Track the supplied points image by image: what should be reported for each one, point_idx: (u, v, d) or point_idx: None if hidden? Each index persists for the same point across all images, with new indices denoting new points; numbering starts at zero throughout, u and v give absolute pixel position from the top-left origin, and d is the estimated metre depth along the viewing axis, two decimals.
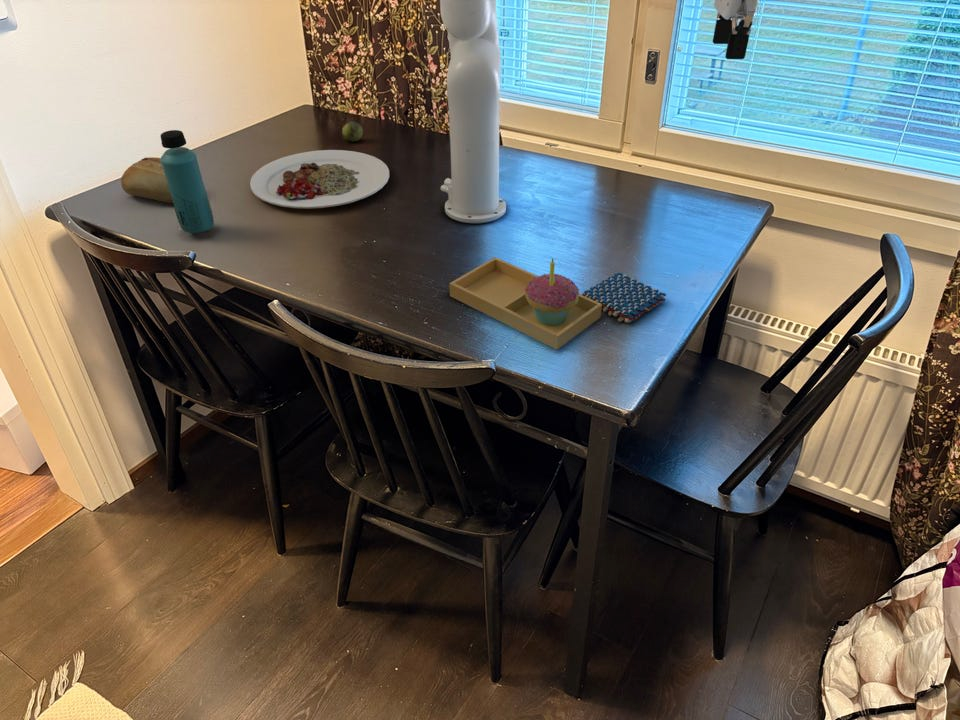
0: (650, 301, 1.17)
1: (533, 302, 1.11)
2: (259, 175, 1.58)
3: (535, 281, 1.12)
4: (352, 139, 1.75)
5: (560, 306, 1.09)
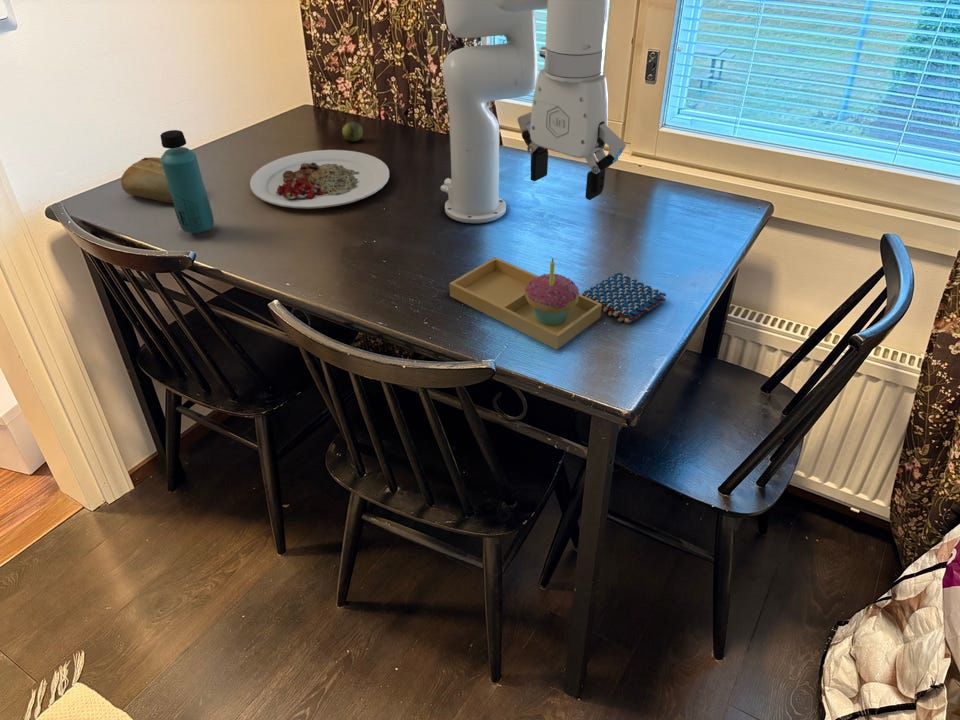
0: (650, 301, 1.17)
1: (533, 302, 1.11)
2: (259, 175, 1.58)
3: (535, 281, 1.12)
4: (352, 139, 1.75)
5: (560, 306, 1.09)
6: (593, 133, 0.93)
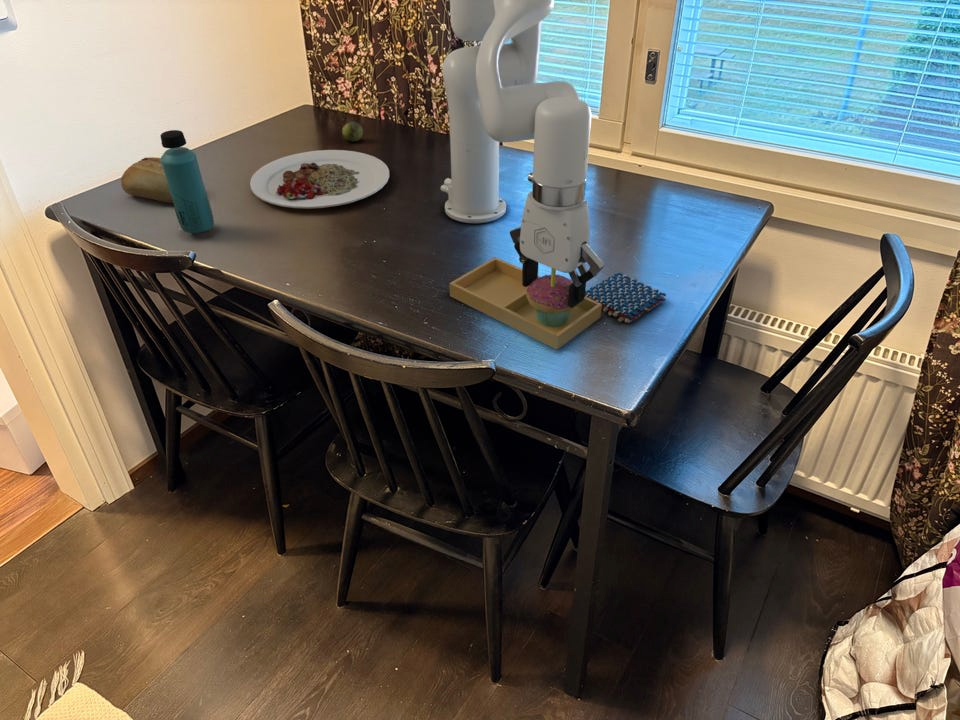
0: (650, 301, 1.17)
1: (534, 303, 1.10)
2: (259, 175, 1.58)
3: (536, 282, 1.12)
4: (352, 139, 1.75)
5: (561, 307, 1.09)
6: (576, 252, 1.03)
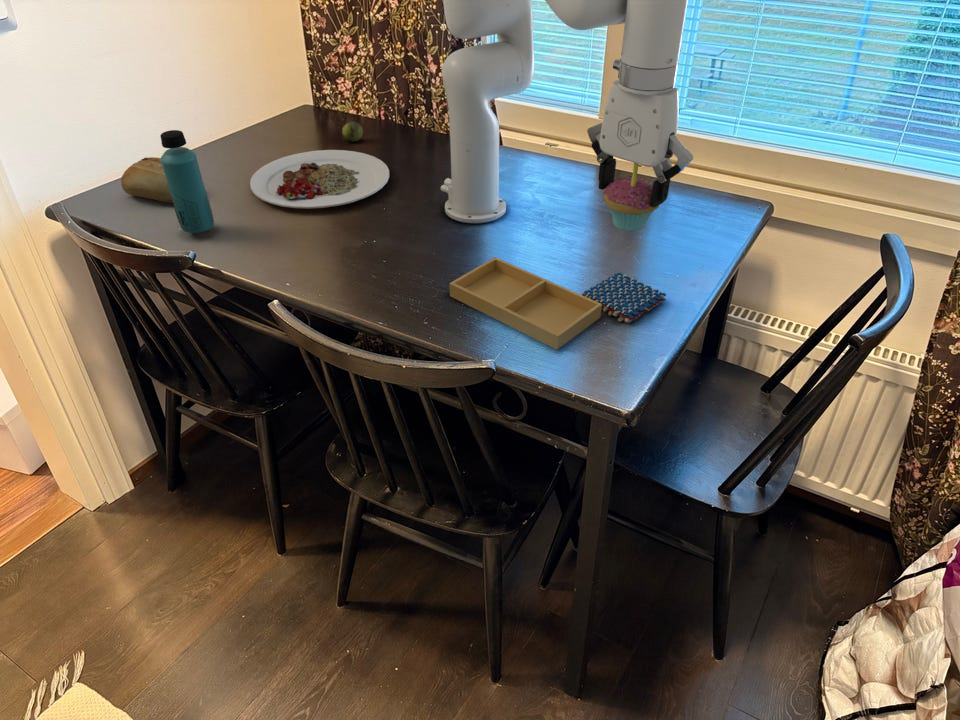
0: (650, 301, 1.17)
1: (614, 203, 1.05)
2: (259, 175, 1.58)
3: (615, 183, 1.06)
4: (352, 139, 1.75)
5: (643, 207, 1.04)
6: (664, 143, 0.97)
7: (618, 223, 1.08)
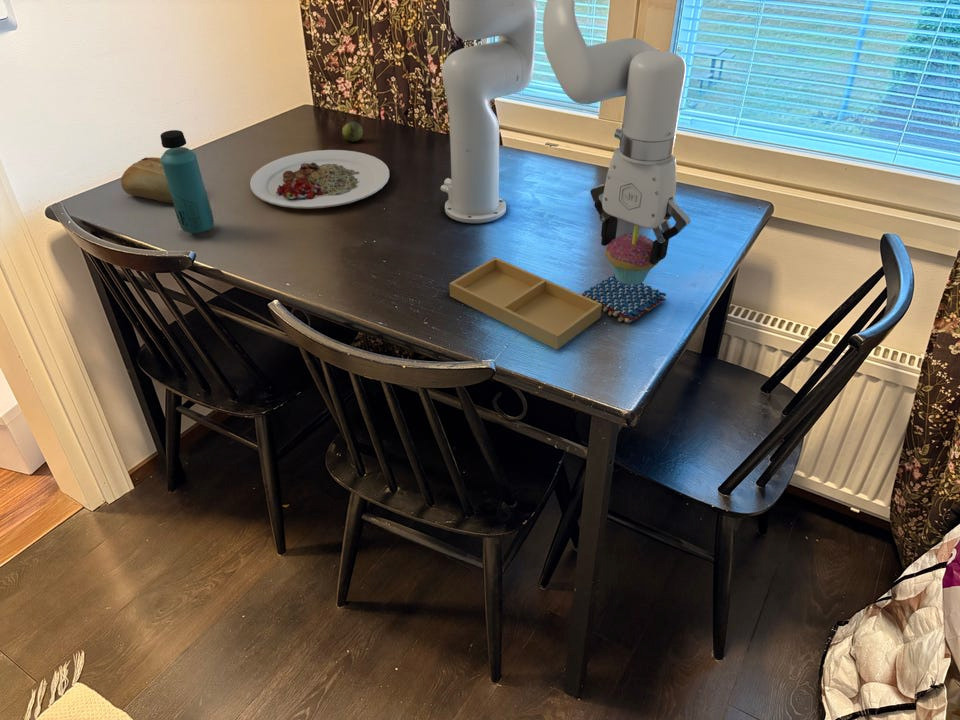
0: (650, 301, 1.17)
1: (616, 260, 1.11)
2: (259, 175, 1.58)
3: (617, 240, 1.13)
4: (352, 139, 1.75)
5: (643, 264, 1.10)
6: (663, 208, 1.04)
7: (620, 277, 1.14)
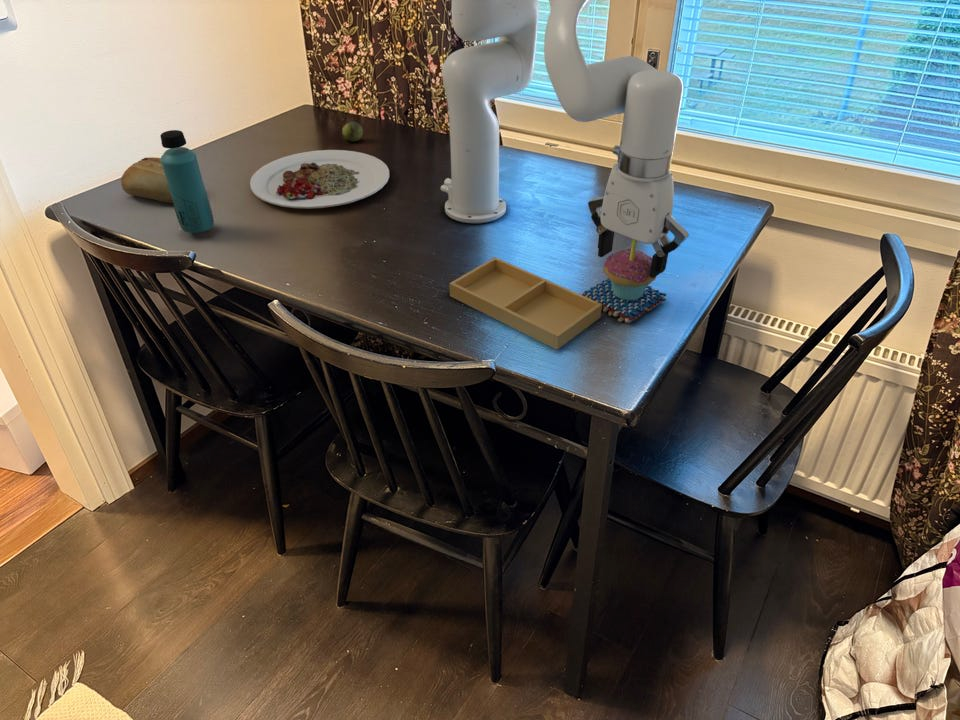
0: (650, 301, 1.17)
1: (614, 276, 1.13)
2: (259, 175, 1.58)
3: (615, 256, 1.15)
4: (352, 139, 1.75)
5: (641, 280, 1.12)
6: (660, 224, 1.05)
7: (618, 293, 1.16)
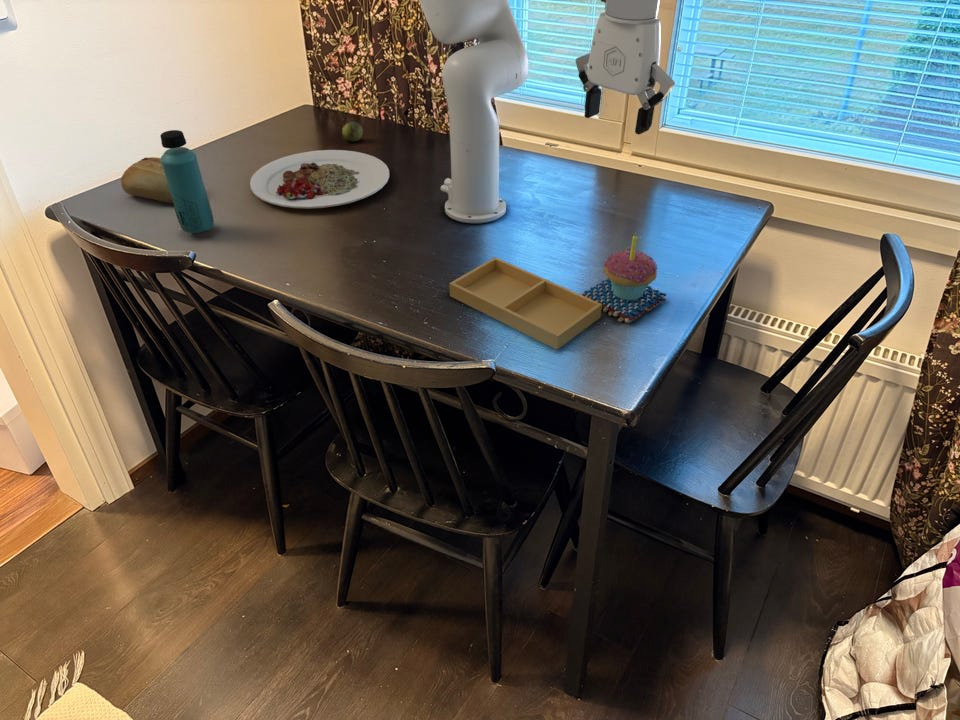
0: (650, 301, 1.17)
1: (614, 276, 1.13)
2: (259, 175, 1.58)
3: (615, 256, 1.15)
4: (352, 139, 1.75)
5: (641, 280, 1.12)
6: (646, 71, 1.04)
7: (618, 293, 1.16)
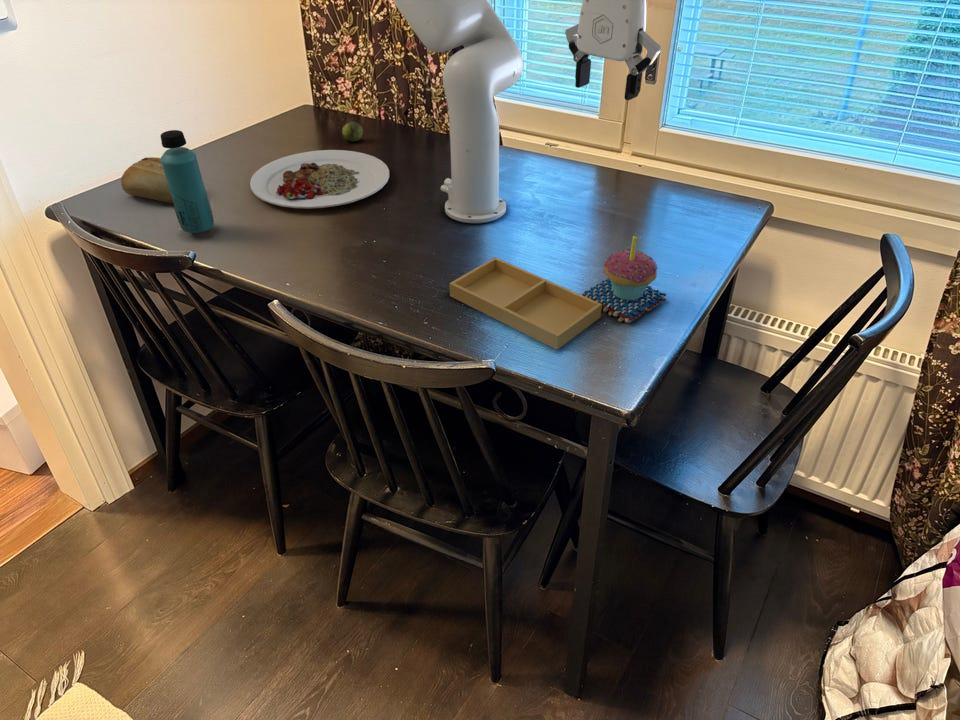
0: (650, 301, 1.17)
1: (614, 276, 1.13)
2: (259, 175, 1.58)
3: (615, 256, 1.15)
4: (352, 139, 1.75)
5: (641, 280, 1.12)
6: (633, 37, 1.09)
7: (618, 293, 1.16)
